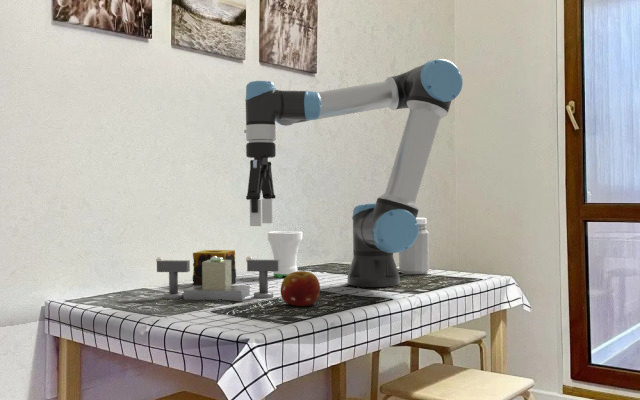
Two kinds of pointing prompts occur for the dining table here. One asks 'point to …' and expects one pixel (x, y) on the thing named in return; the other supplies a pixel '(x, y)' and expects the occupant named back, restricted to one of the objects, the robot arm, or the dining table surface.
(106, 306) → the dining table surface
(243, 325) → the dining table surface
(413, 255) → the jar
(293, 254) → the cup
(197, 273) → the candle
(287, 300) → the fruit
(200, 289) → the level base
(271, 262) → the knob
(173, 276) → the knob
